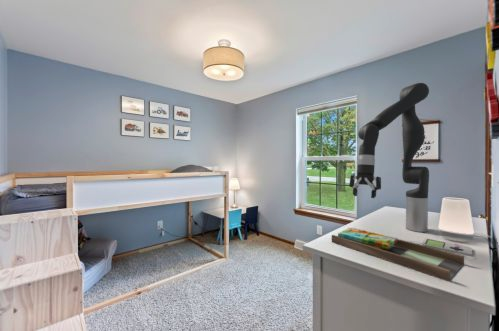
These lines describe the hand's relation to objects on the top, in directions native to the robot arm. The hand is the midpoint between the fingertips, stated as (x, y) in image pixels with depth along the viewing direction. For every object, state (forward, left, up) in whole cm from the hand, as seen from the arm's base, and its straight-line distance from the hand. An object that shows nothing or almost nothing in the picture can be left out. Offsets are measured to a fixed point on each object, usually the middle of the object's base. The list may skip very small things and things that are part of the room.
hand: (363, 197), depth 108 cm
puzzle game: (+13, +8, -19) cm, 24 cm away
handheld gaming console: (-11, +29, -19) cm, 36 cm away
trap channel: (+13, +17, -19) cm, 28 cm away
